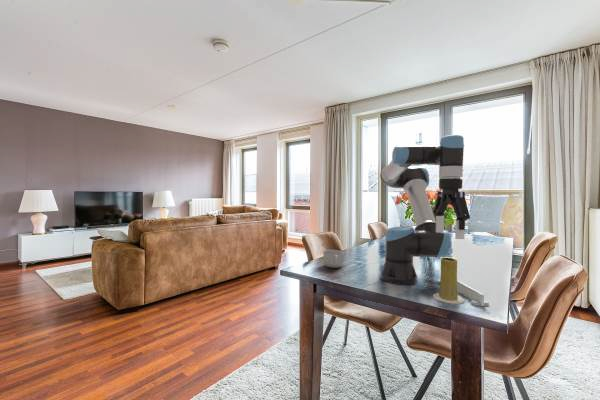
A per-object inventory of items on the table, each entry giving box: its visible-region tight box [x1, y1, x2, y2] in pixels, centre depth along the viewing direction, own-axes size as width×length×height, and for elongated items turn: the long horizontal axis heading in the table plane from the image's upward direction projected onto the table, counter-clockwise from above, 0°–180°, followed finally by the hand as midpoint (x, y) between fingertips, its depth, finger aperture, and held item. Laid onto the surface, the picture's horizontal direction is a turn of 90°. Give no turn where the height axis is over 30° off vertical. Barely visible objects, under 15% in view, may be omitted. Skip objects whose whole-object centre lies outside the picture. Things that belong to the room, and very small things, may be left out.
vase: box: [438, 256, 459, 300], centre depth 102 cm, size 6×6×14 cm
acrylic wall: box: [436, 279, 490, 307], centre depth 108 cm, size 5×26×4 cm, turn 2°
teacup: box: [323, 249, 345, 269], centre depth 143 cm, size 14×11×8 cm
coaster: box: [432, 292, 465, 305], centre depth 102 cm, size 10×10×1 cm
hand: (449, 235), depth 103 cm, fingers open, 13 cm apart
